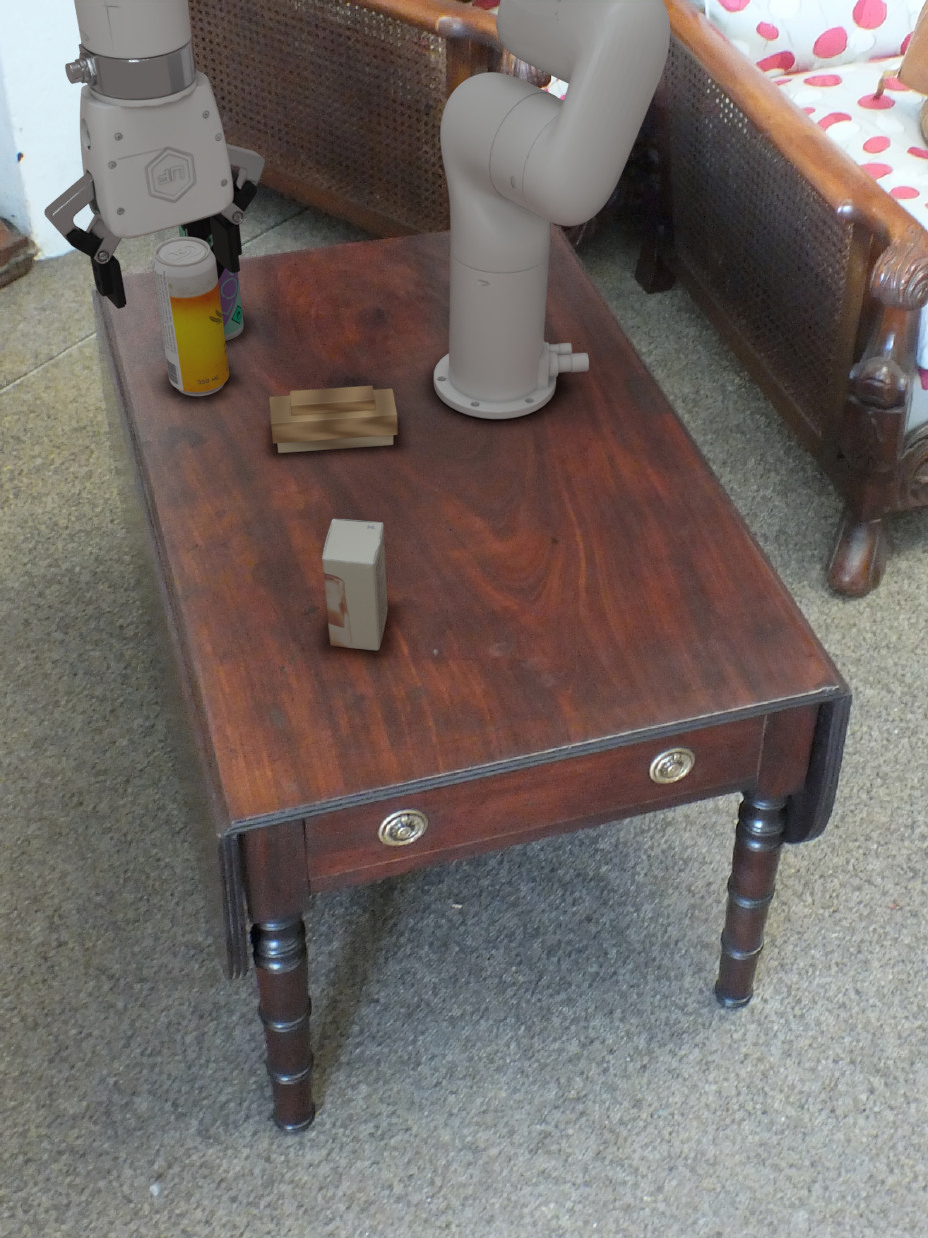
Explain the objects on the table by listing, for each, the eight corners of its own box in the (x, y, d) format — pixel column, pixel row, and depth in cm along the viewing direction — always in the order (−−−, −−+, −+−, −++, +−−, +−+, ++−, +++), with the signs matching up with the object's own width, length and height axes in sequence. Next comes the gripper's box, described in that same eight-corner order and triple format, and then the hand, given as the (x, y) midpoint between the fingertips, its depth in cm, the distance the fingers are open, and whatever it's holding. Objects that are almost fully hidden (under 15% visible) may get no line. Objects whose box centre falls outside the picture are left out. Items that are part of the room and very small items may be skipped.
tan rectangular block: (393, 419, 138) (392, 378, 134) (397, 446, 135) (396, 404, 131) (272, 428, 136) (268, 386, 133) (274, 455, 133) (269, 412, 130)
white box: (338, 605, 118) (332, 515, 111) (389, 610, 118) (386, 520, 111) (326, 648, 115) (319, 557, 108) (378, 653, 114) (375, 563, 107)
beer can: (242, 381, 142) (227, 250, 132) (195, 406, 139) (176, 273, 128) (204, 358, 145) (187, 228, 135) (158, 382, 142) (136, 250, 131)
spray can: (222, 347, 147) (200, 169, 133) (182, 332, 149) (156, 155, 135) (254, 324, 150) (236, 148, 136) (214, 309, 152) (193, 134, 138)
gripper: (42, 113, 91) (87, 337, 102) (276, 57, 98) (292, 273, 110) (1, 72, 95) (48, 292, 107) (227, 22, 102) (248, 233, 114)
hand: (172, 282), depth 108 cm, fingers open, 9 cm apart
